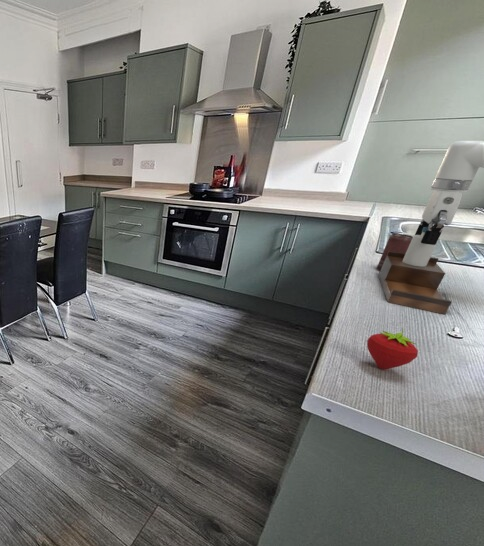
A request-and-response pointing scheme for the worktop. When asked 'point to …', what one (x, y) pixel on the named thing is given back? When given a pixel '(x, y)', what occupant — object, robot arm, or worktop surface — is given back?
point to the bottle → (418, 251)
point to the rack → (413, 283)
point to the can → (395, 246)
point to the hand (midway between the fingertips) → (424, 240)
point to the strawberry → (391, 350)
